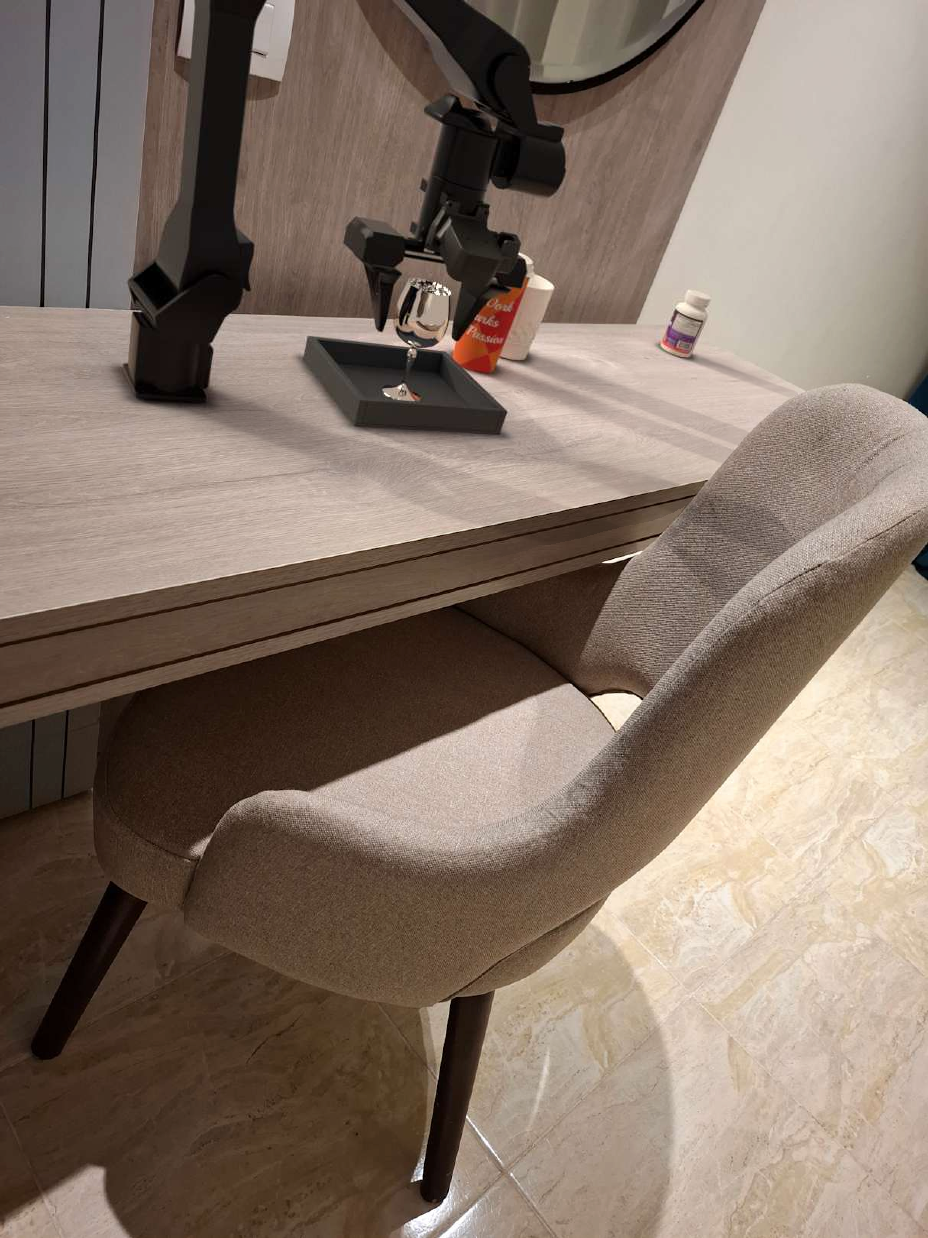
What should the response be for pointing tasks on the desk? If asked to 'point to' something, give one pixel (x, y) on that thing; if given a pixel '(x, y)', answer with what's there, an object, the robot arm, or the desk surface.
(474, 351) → the paper cup
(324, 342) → the tray
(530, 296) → the white cup
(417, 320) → the wineglass
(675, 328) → the pill bottle
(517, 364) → the desk surface
